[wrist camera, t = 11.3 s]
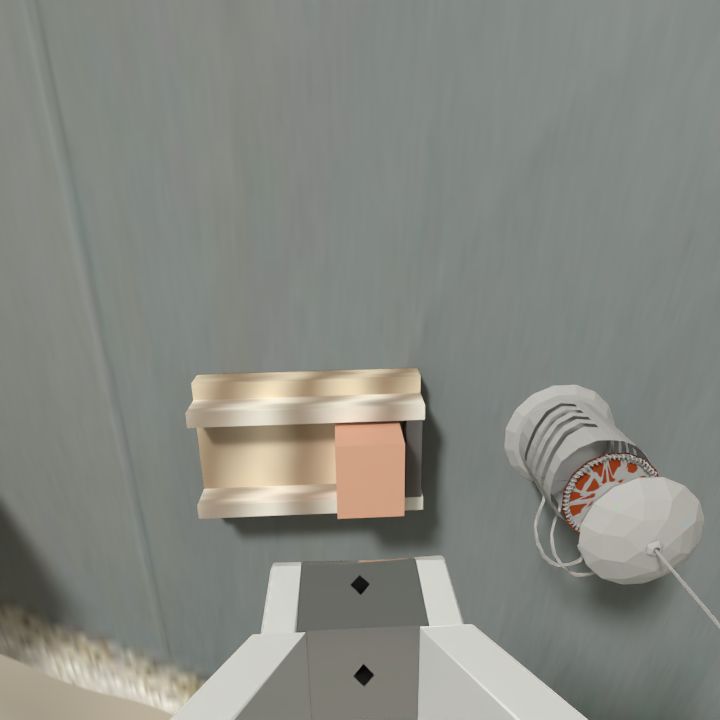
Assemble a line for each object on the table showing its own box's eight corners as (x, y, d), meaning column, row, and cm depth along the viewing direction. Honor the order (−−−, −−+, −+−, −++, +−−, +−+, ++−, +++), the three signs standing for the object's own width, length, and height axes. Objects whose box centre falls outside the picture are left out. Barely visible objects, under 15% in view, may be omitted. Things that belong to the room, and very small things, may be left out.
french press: (638, 418, 49) (927, 655, 25) (555, 517, 51) (744, 812, 28) (550, 363, 47) (775, 563, 23) (469, 469, 49) (595, 743, 26)
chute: (417, 368, 46) (425, 388, 42) (415, 494, 50) (422, 524, 46) (197, 374, 45) (183, 396, 41) (212, 502, 49) (200, 533, 45)
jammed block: (396, 412, 45) (405, 444, 40) (396, 477, 47) (404, 516, 42) (334, 414, 45) (335, 446, 40) (337, 480, 47) (337, 518, 42)
